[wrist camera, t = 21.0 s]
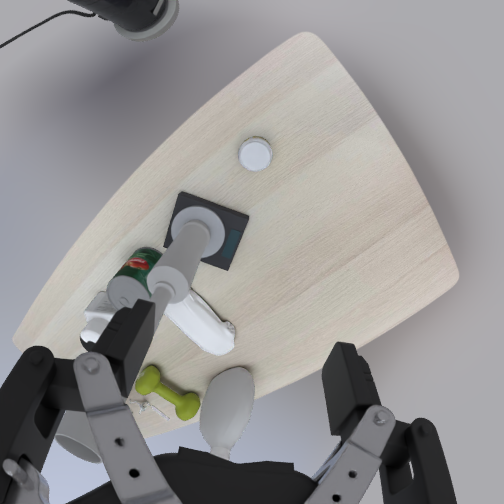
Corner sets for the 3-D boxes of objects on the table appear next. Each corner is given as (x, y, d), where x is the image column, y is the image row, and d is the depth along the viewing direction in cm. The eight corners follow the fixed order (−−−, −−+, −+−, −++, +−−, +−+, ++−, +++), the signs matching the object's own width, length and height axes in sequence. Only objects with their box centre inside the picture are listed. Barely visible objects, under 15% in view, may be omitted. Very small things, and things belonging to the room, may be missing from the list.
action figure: (160, 418, 78) (175, 418, 75) (152, 431, 74) (167, 432, 70) (133, 394, 75) (147, 392, 72) (124, 406, 71) (138, 406, 67)
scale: (166, 242, 53) (162, 248, 50) (181, 191, 49) (177, 194, 46) (229, 265, 54) (227, 272, 52) (249, 215, 50) (248, 221, 48)
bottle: (215, 243, 50) (178, 348, 27) (187, 251, 50) (134, 354, 28) (205, 214, 47) (155, 305, 25) (176, 223, 48) (109, 313, 26)
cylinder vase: (108, 392, 73) (79, 460, 51) (83, 363, 69) (44, 431, 46) (140, 390, 71) (112, 465, 48) (114, 358, 66) (75, 435, 44)
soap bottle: (221, 396, 70) (207, 490, 45) (198, 379, 67) (177, 476, 43) (267, 374, 66) (266, 479, 41) (244, 355, 63) (235, 465, 39)
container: (137, 323, 61) (115, 364, 49) (107, 319, 61) (82, 358, 49) (130, 293, 58) (104, 333, 46) (99, 290, 58) (70, 327, 46)
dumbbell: (137, 371, 68) (128, 391, 61) (153, 358, 65) (145, 380, 59) (186, 404, 72) (181, 425, 66) (205, 394, 70) (201, 416, 63)
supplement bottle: (245, 168, 47) (242, 178, 39) (237, 140, 45) (231, 144, 37) (275, 160, 46) (277, 169, 38) (266, 132, 44) (267, 134, 37)
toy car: (153, 296, 58) (146, 309, 54) (178, 274, 55) (172, 286, 51) (216, 350, 63) (213, 364, 59) (243, 333, 60) (241, 348, 56)
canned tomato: (146, 238, 52) (121, 266, 42) (177, 267, 55) (159, 300, 45) (123, 264, 55) (98, 294, 45) (153, 291, 57) (133, 325, 47)
